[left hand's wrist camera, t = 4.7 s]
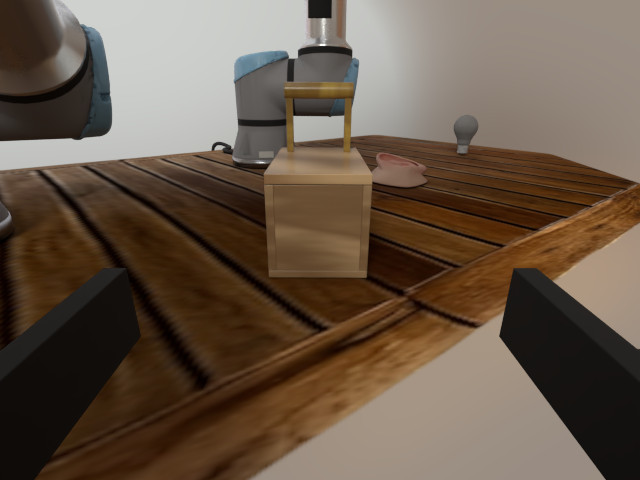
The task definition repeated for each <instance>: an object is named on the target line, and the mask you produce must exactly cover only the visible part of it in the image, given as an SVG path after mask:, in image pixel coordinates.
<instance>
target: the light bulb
mask: <svg viewBox="0 0 640 480" xmlns="http://www.w3.org/2000/svg"><path fill="white" fill-rule="evenodd" d="M477 130H478V122H477V120H476V119H475V118H474V117H473V116H470V115H464V116H461V117H460V118H459V119H458V120H457V121H456V122H455V124H454V132H455V135H456V137H457V144H458V149H457V150H458V151H457V152H458V153H459V154H466V153H467V148H468V145H469V144H470V141H471V139H472V138H473V136H474V135H475V133H476V132H477Z"/></svg>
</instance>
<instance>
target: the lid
mask: <svg viewBox="0 0 640 480" xmlns="http://www.w3.org/2000/svg"><path fill="white" fill-rule="evenodd" d="M353 97H354V83H353V82H284V98H285V99H286V120H287V147H282V148H281V149H280V151H279V152H278V154H277V155H276V157H275V158H274V160H273V161H272V163H271V164H270V166H269V167H268V168H267V170H266V171H265V173H264V184H314V185H372V179H373V174H372V173H371V171H370V170H369V168H368V166H367V165H366V163H365V162H364V160H363V159H362V157H361V155H360V154H359V152H358V151H357V149H356V148H350V138H351V109H352V99H353ZM293 99H345V113H344V148H310V147H294V131H293Z"/></svg>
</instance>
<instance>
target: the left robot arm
mask: <svg viewBox="0 0 640 480" xmlns="http://www.w3.org/2000/svg"><path fill="white" fill-rule="evenodd" d="M111 125H112V105H111V97H110V83H109V75H108V67H107V61H106V55H105V50H104V45H103V41H102V38H101V36H100V33H99V32H98V31H96V30H95V29H94V28H91V27H86V26H85V25H81V24H79V22H78V19H77V18H76V17H75V15H74V14H73V13H72V12H71V10H70V9H69V8H68V7H67V6H66V5H64V4H63V3H62V2H61V1H60V0H0V141H16V140H41V139H66V138H72V139H74V140H81V139H83V138H86V137H96V136H103V135H105V134H106V133H108V132H109V130H110V128H111ZM13 231H14V225H13V222H12V218H11V215H10V213H9V211H7V209H6V208H5V206H4V205H3V204H2V203H1V201H0V241H1V240H3V239H5V238H6V237H8V236H9V235H10V234H11V233H12V232H13ZM140 337H141V335H140V330H139V326H138V321H137V316H136V312H135V307H134V302H133V298H132V293H131V288H130V283H129V279H128V274H127V269H126V268H103V269H102V270H101V271H100V272H98V273H97V274H96V275H95V276H93V277H92V278H91V279H90V280H88V281H87V282H86V283H85V284H83V285H82V286H81V287H80V288H78V289H77V290H76V291H75V292H73V293H72V294H71V295H70V296H68V297H67V298H66V299H65V300H63V301H62V302H61V303H60V304H58V305H57V306H56V307H55V308H53V309H52V310H51V311H50V312H48V313H47V314H46V315H45V316H44V317H42V318H41V319H40V320H39V321H37V322H36V323H35V324H34V325H32V326H31V327H30V328H29V329H27V330H26V331H25V332H24V333H22V334H21V335H20V336H19V337H17V338H16V339H15V340H14V341H12V342H11V343H10V344H9V345H7V346H6V347H5V348H4V349H2V350H0V480H34V479H35V478H36V477H37V475H38V474H39V473H40V471H41V470H42V469H43V467H44V466H45V464H46V463H47V462H48V460H49V459H50V458H51V456H52V455H53V454H54V452H55V451H56V450H57V448H58V447H59V446H60V444H61V443H62V442H63V440H64V439H65V438H66V436H67V435H68V434H69V432H70V431H71V429H72V428H73V427H74V425H75V424H76V423H77V421H78V420H79V419H80V417H81V416H82V415H83V413H84V412H85V411H86V409H87V408H88V407H89V405H90V404H91V403H92V401H93V400H94V399H95V397H96V396H97V394H98V393H99V392H100V390H101V389H102V388H103V386H104V385H105V384H106V382H107V381H108V380H109V378H110V377H111V376H112V374H113V373H114V372H115V370H116V369H117V368H118V366H119V365H120V364H121V362H122V361H123V359H124V358H125V357H126V355H127V354H128V353H129V351H130V350H131V349H132V347H133V346H134V345H135V343H136V342H137V341H138V339H139V338H140ZM499 337H500V338H501V339H502V341H503V342H504V343H505V345H506V346H507V347H508V349H509V350H510V351H511V353H512V354H513V355H514V357H515V358H516V359H517V361H518V362H519V364H520V365H521V366H522V368H523V369H524V370H525V372H526V373H527V374H528V376H529V377H530V378H531V380H532V381H533V382H534V384H535V385H536V386H537V388H538V389H539V390H540V392H541V393H542V394H543V396H544V397H545V399H546V400H547V401H548V402H549V404H550V405H551V406H552V408H553V409H554V411H555V412H556V413H557V415H558V416H559V417H560V419H561V420H562V421H563V423H564V424H565V425H566V427H567V428H568V429H569V431H570V432H571V434H572V435H573V436H574V438H575V439H576V440H577V442H578V443H579V444H580V446H581V447H582V448H583V450H584V451H585V452H586V454H587V455H588V456H589V458H590V459H591V460H592V462H593V463H594V464H595V466H596V467H597V468H598V470H599V471H600V473H601V474H602V475H603V477H604V478H605V479H606V480H640V349H636V348H635V347H634V346H633V345H631V344H630V343H629V342H628V341H626V340H625V339H624V338H623V337H621V336H620V335H619V334H618V333H616V332H615V331H614V330H613V329H611V328H610V327H609V326H608V325H606V324H605V323H604V322H603V321H601V320H600V319H599V318H598V317H596V316H595V315H594V314H593V313H592V312H590V311H589V310H588V309H586V308H585V307H584V306H583V305H582V304H580V303H579V302H578V301H576V300H575V299H574V298H573V297H571V296H570V295H569V294H568V293H567V292H565V291H564V290H563V289H562V288H560V287H559V286H558V285H557V284H555V283H554V282H553V281H552V280H550V279H549V278H548V277H547V276H545V275H544V274H543V273H542V272H540V271H539V270H538V269H537V268H514V269H513V274H512V279H511V283H510V288H509V293H508V298H507V302H506V307H505V312H504V316H503V321H502V326H501V330H500V335H499Z"/></svg>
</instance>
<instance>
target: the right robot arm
mask: <svg viewBox="0 0 640 480" xmlns="http://www.w3.org/2000/svg"><path fill="white" fill-rule="evenodd" d="M345 38H346V0H305V41H304V43H303V44H302V45H301V46H300V47H299V48H298V58H297V59H288V58H289V56H288V53H287V52H286V51H268V52H260V53H254V54H248V55H244V56H242V57H239V58H238V59H237V60H236V62H235V65H234V72H235V79H234V83H235V91H236V104H237V117H238V133H237V138H236V142H235V146H234V150H230V149H231V146H230V145H228V144H225V143H223V142H216V143H214V144H213V146H212V150H211V151H213V150H215V147H216V146H217V145H222V146H225V148H223V152H226V153H233V155H232V157H233V164H235V165H237V166H241V167H248V168H268V167H269V166H270V164H271V163H272V161H273V160H274V158H275V157H276V155H277V154H278V152H279V151H280V149H281V148H282V147H287V120H286V99H285V98H284V82H353V83H354V95H355V90H356V84H357V77H358V66H359V60H358V59H356V58H353V59H352V48H351V47H350V46H349V45H348V43H347V42H346V40H345ZM353 100H354V97H353V99H352V105H353ZM344 113H345V99H293V116H329V117H331V116H343V115H344ZM294 147H296V146H295V143H294Z"/></svg>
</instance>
